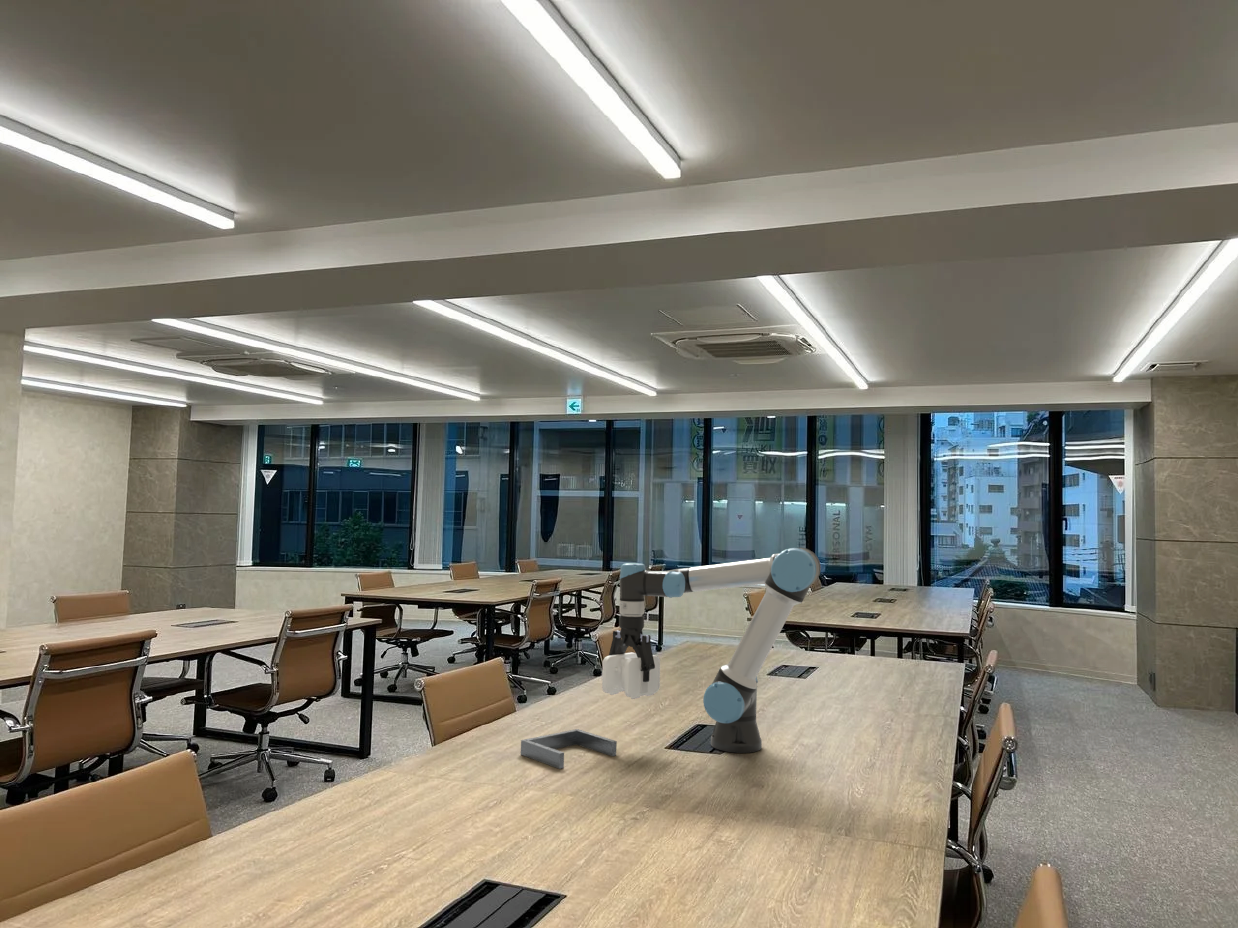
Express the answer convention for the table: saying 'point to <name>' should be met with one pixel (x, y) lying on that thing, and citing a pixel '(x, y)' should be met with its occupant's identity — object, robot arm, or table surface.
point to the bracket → (546, 746)
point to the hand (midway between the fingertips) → (630, 689)
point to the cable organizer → (628, 675)
